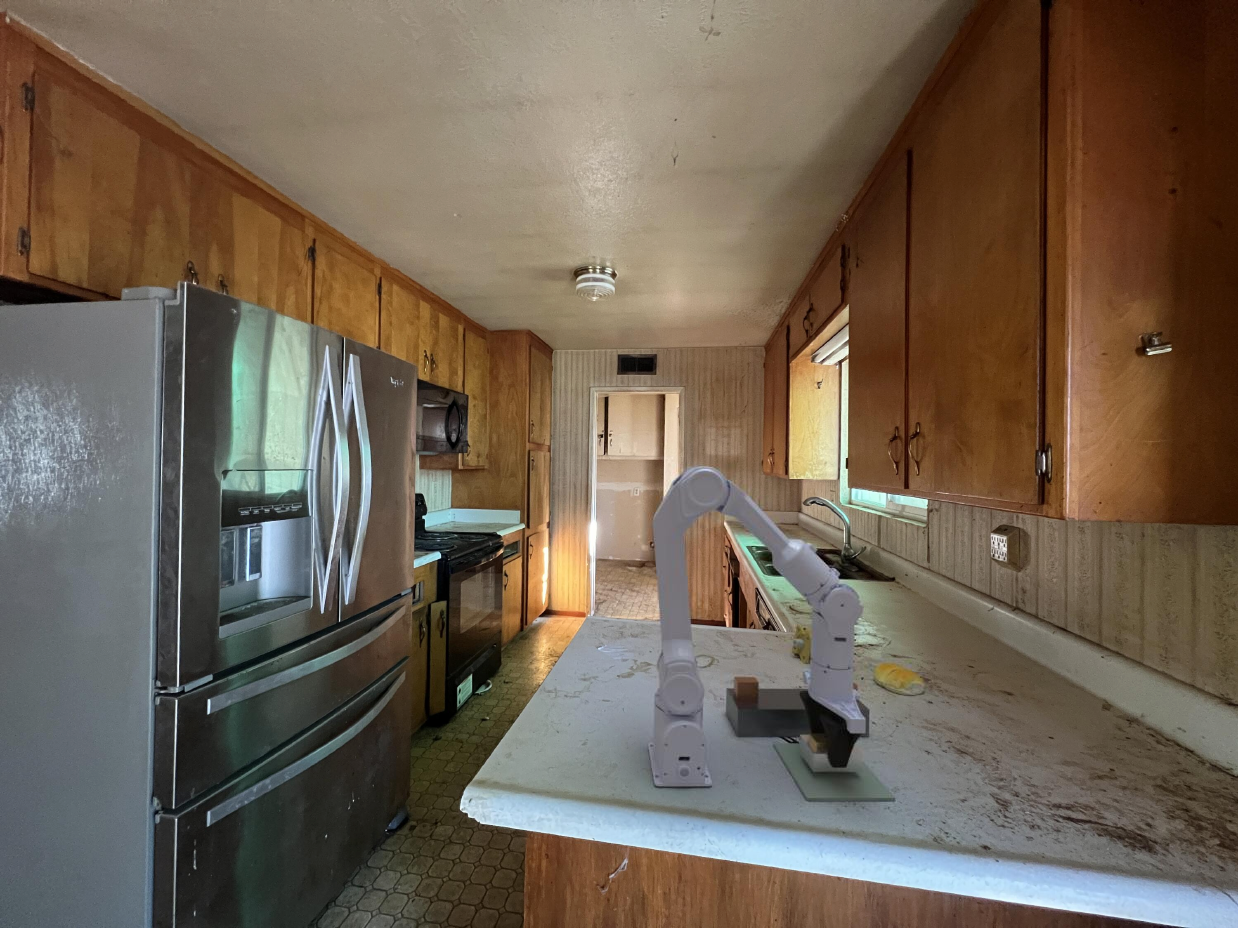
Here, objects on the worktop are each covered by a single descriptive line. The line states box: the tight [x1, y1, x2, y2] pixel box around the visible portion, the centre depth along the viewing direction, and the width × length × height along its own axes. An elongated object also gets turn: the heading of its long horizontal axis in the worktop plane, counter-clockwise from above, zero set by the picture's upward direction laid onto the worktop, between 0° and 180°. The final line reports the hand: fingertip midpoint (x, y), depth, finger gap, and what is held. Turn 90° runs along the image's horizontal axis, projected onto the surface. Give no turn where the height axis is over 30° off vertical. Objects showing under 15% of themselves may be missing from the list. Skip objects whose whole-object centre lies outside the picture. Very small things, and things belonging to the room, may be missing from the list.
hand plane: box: [725, 676, 871, 738], centre depth 79 cm, size 7×22×8 cm, turn 92°
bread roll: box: [873, 662, 925, 696], centre depth 95 cm, size 8×9×4 cm
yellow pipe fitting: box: [791, 624, 811, 665], centre depth 107 cm, size 13×10×10 cm
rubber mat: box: [772, 742, 896, 802], centre depth 67 cm, size 12×12×1 cm
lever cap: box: [799, 733, 863, 772], centre depth 67 cm, size 5×7×3 cm, turn 92°
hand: (829, 754), depth 67 cm, fingers closed on lever cap, 5 cm apart
